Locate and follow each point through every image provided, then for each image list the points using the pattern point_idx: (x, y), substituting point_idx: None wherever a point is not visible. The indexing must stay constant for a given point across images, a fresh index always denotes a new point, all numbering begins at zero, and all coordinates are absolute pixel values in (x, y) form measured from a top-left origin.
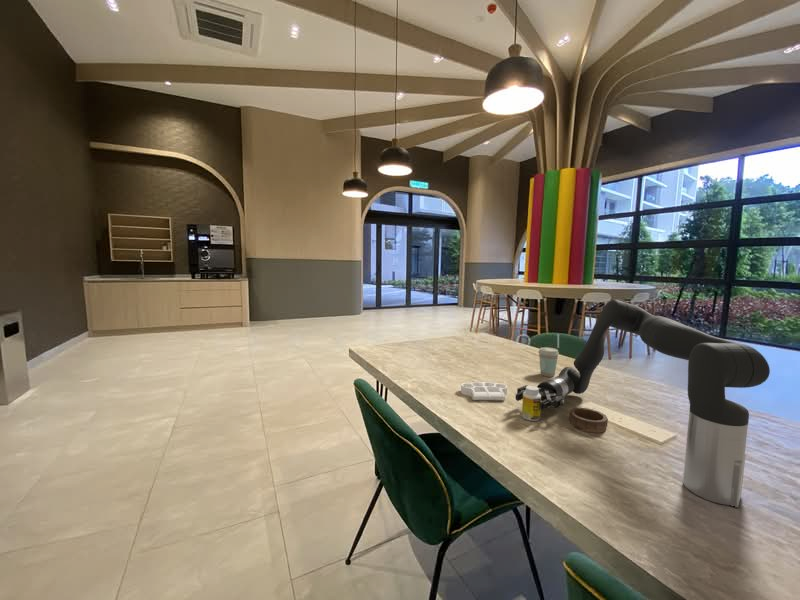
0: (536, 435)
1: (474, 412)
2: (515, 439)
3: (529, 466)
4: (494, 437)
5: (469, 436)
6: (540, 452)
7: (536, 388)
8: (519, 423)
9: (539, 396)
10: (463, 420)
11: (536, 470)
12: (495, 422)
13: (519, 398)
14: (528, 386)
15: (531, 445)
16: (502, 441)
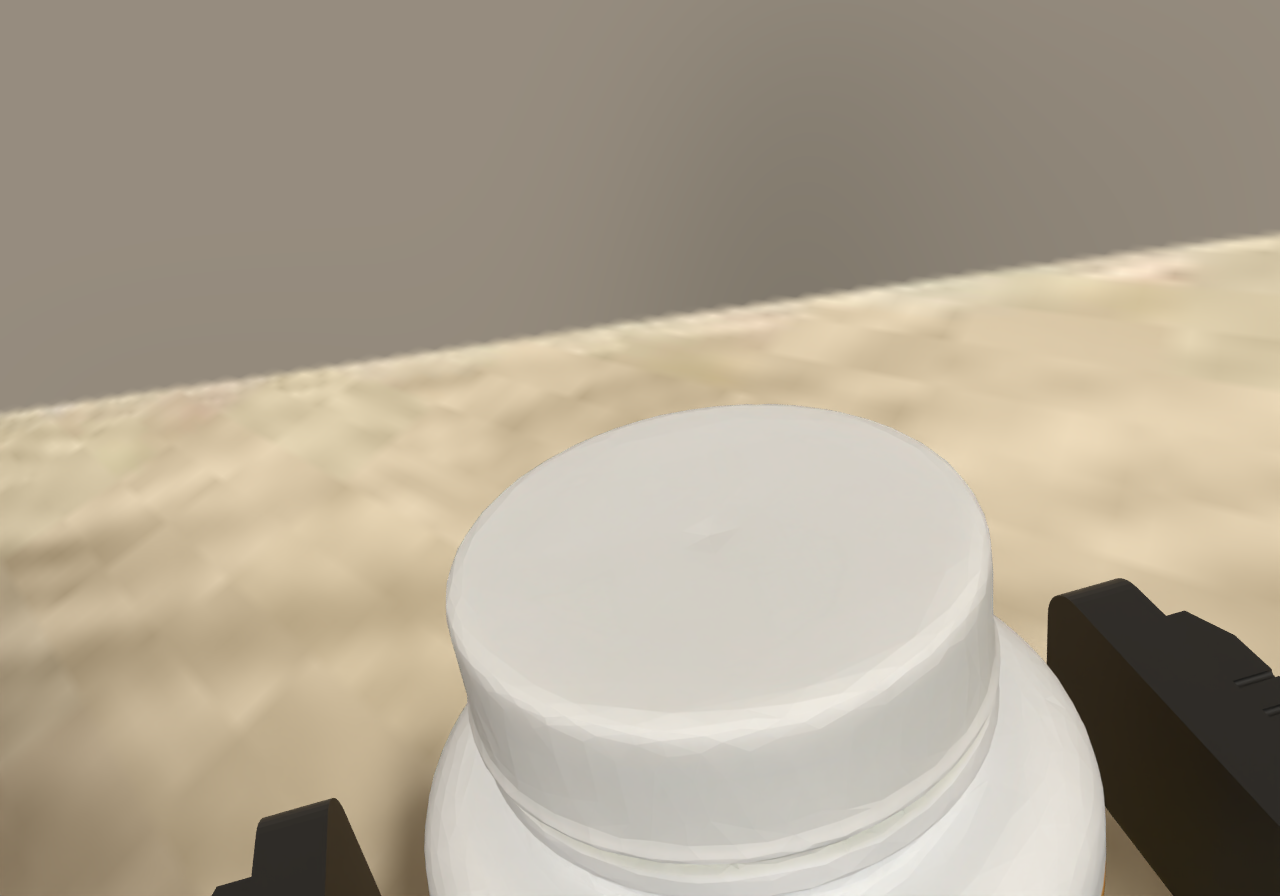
0: (285, 804)
1: (1275, 472)
2: (413, 561)
3: (94, 474)
4: (571, 442)
5: (698, 327)
6: (84, 626)
7: (560, 617)
8: None
9: (433, 826)
10: (1032, 351)
11: (30, 487)
12: None
13: (1098, 748)
14: (903, 496)
15: (218, 625)
16: (471, 465)
